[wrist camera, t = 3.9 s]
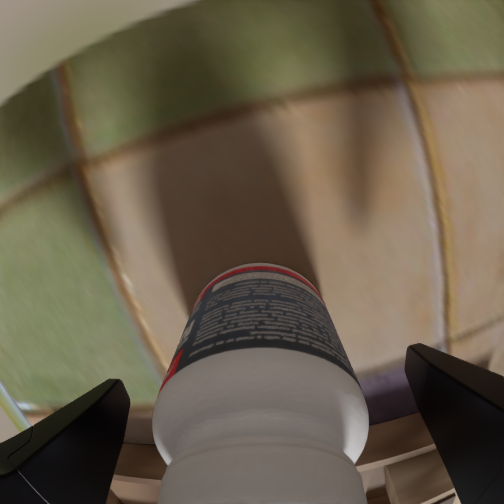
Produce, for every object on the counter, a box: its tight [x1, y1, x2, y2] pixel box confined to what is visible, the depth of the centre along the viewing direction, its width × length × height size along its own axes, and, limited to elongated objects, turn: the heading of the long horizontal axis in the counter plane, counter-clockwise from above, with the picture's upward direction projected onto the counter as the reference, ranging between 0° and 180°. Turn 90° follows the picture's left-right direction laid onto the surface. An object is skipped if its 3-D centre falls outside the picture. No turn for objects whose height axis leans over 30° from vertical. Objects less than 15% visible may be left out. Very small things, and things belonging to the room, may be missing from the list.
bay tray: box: [106, 412, 437, 504], centre depth 14 cm, size 25×9×2 cm, turn 98°
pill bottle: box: [152, 263, 369, 504], centre depth 8 cm, size 5×5×9 cm
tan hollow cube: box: [384, 449, 461, 504], centre depth 12 cm, size 4×4×4 cm
